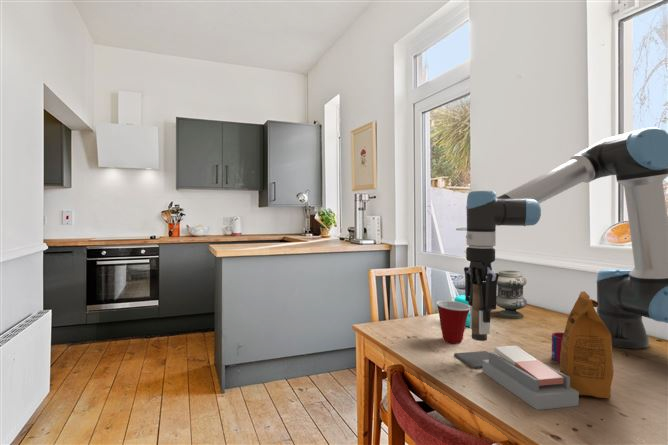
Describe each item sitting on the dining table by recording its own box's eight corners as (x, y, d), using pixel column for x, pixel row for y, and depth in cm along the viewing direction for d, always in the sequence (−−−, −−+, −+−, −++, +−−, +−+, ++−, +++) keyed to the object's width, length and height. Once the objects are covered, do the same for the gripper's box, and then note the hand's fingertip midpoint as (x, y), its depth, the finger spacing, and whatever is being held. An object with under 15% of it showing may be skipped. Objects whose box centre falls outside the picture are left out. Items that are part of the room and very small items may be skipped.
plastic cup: (471, 348, 117) (471, 308, 117) (434, 344, 120) (434, 306, 120) (470, 337, 127) (471, 301, 127) (437, 334, 131) (437, 299, 130)
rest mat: (485, 353, 113) (485, 351, 113) (507, 366, 103) (507, 363, 103) (454, 355, 111) (454, 353, 111) (473, 368, 101) (473, 366, 101)
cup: (550, 354, 112) (551, 331, 112) (591, 360, 107) (592, 335, 107) (552, 362, 106) (552, 337, 106) (595, 368, 101) (596, 342, 101)
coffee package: (605, 382, 93) (606, 291, 92) (616, 405, 82) (617, 302, 81) (557, 374, 97) (558, 288, 97) (562, 395, 86) (563, 297, 86)
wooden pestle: (481, 336, 109) (483, 283, 109) (489, 340, 105) (491, 285, 105) (468, 336, 108) (470, 283, 108) (476, 341, 104) (478, 286, 104)
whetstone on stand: (517, 368, 101) (517, 347, 101) (578, 405, 81) (578, 379, 81) (482, 371, 99) (482, 350, 99) (536, 410, 80) (537, 383, 80)
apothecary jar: (502, 310, 164) (503, 268, 163) (532, 315, 154) (532, 271, 154) (488, 314, 156) (488, 270, 156) (518, 321, 147) (518, 274, 146)
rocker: (494, 352, 98) (494, 347, 97) (515, 350, 99) (516, 345, 98) (538, 385, 82) (539, 379, 82) (563, 383, 83) (563, 377, 83)
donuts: (486, 300, 138) (458, 300, 138) (486, 327, 138) (458, 327, 138) (477, 294, 148) (451, 294, 148) (477, 320, 148) (451, 320, 148)
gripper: (453, 244, 114) (452, 323, 114) (485, 249, 97) (484, 341, 98) (476, 244, 115) (475, 322, 116) (512, 249, 99) (511, 340, 99)
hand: (479, 330), depth 107 cm, fingers closed on wooden pestle, 4 cm apart
